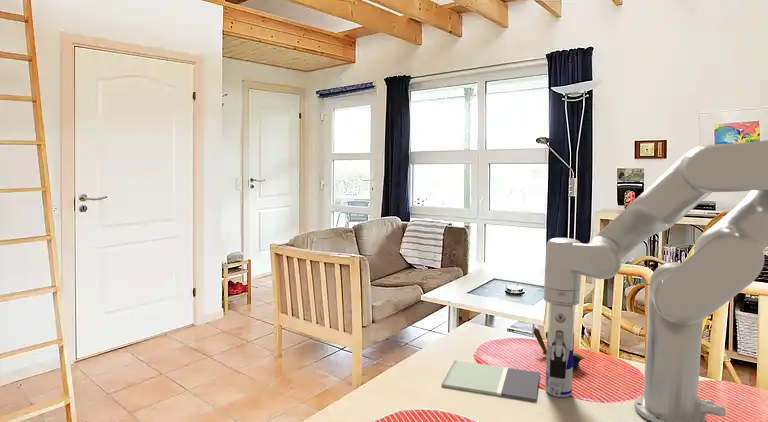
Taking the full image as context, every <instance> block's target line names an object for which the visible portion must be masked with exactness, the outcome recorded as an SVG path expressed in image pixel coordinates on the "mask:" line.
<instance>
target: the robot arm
mask: <svg viewBox="0 0 768 422" xmlns="http://www.w3.org/2000/svg"><path fill="white" fill-rule="evenodd" d="M729 192H730V193H732V192H733V193H734V192H737V193H738V192H748V193H747V195H746V196H745V197H743V199H742V200H741V201H740V202H739V203H738V204H737V205H735V207H733V208H732V210H730V211H729V212H728V213H726V215H724V216H723V217H722V218H721V219H719V220H718V221H717V222H716V223H715V224H713V225H712V226H711V227H709V228H708V229H706V230H705V231H703V232H702V233H701V234H700V236H698V238H697V239H696V241H695V243H694V246H693V254H692V255H690V256H689V257H688V258H687V259H686V260H685V261H683V262H678V261H671V262H666V263H663V264H662V265H659V266H658V267H657V268H655V269H654V271H653V272H652V274H651V275H650V279H649V281H648V282H649V283H648V295H647V296H648V300H647V301H648V310H647V311H648V312H647V313H648V314H647V331H646V345H645V362H644V363H645V365H644V377H643V378H644V379H643V380H644V381H643V382H644V383H643V395H639V396H638V397H636V398H635V400H634V409H635V410H636V412H637V413H638V414H639V415H640V416H641V417H643V418H644V419H645V420H647V421H648V422H706V416H707V415H713V416H717V417H726V408H725V406H722V405H716V404H715V402H714V400H709V399H701V398H700V397H699V379H700V367H701V366H700V365H701V352H702V351H701V350H702V340H703V339H702V338H703V323H704V322H703V320H704V319H706V318H708V317H709V316H710V315H712V314H713V313H715V312H716V311H718V310H719V309H720V308H721V307H723V306H724V305H725V304H726V303H728V302H729V301H731V300H732V299H733V298H735V297H736V296H737V295H739V293H741V292H743V291H744V290H745V289H746V288H747V287H749V286H750V285H751V284H752V283H754V282H755V280H756V279H757V278H758V277H759V275H760V274H761V273H762V271H763V268H764V265H765V254H764V249H766V248H768V140H766V139H765V140H758V141H756V140H755V141H748V142H737V143H736V142H735V143H721V144H720V143H719V144H718V143H717V144H705V145H704V144H703V145H699V146H695V147H693V148H692V149H690V150H688V151H687V152H686V153H685V154H683V156H681V157H680V158H679V159H678V160H677V161H676V162H675V163H673V164H672V165H671V166H670V167H669V168H668V169H666V171H665V172H664V173H662V174H661V175H660V176H659V177H658V178H657V179H655V180H654V182H653V183H651V185H649V187H647V188H646V189H644V191H643V192H642V193H640V195H638V196H637V197H636V198H635V199H634V200H632V201H631V203H630V204H629V205H628V206H627V207H626V208H625V209H624V210H623V211H622V212H621V213H619V214H618V215H617V216H616V217H615V218H614V219H613V220H612V221H610V222H609V223H608V224H607V225H606V226H605V227H604V228H602V230H600V232H598V233H597V234H596V235H594V237H593V238H592V239H591V240H590V241H588V243H582V242H581V241H580V240H577V239H575V238H569V237H554V238H550V239H548V241H547V242H546V248H545V262H544V263H545V265H544V282H543V284H544V287H543V301H545V302H547V303H548V323H547V324H548V327H547V332H548V331H549V346H550V347H551V348H552V358H550V377H554V378H561V379H565V374H566V360H565V352H566V349H569V351H571V350H572V349H573V333H574V334H575V329H574V328H575V306H577V305H579V304H580V303H581V302H580V300H581V286H582V285H581V284H582V276H585V277H589V278H593V279H598V280H608V279H611V278H613V277H614V276H615V277H616V275H617V274H618V273H619V271H620V270H621V267H622V260H623V259H624V258H625V257H626V256H627V255H629V254H630V253H631V252H632V251H633V250H634V249H636V248H637V247H638V246H639V245H641V244H642V243H643V242H645V241H646V240H647V239H649V238H651V237H653V236H654V235H655V234H656V235H657V234H659V233H662V232H665V231H667V230H669V229H670V228H672V227H673V226H675V224H677V223H678V222H679V221H681V220H682V219H683V218H684V217H685V216H687V214H689V212H691V211H692V210H693V209H694V208H695V207H697V206H698V205H699V204H700V203H701V202H702V201H704V200H705V199H707V197H708V196H709V195H711V194H712V193H729ZM556 331H557V337H556ZM554 341H555V343H554ZM554 344H556V345H554ZM562 345H564V346H562ZM555 349H556V351H555ZM562 350H563V352H562Z"/></svg>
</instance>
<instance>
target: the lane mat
mask: <svg viewBox="0 0 768 422" xmlns="http://www.w3.org/2000/svg"><path fill="white" fill-rule="evenodd" d="M540 375H541V373H540V372H539V371H532V370H524V369H518V368H512V367H506V366H505V367H504V366H497V365H489V364H485V363H477V362H476V363H475V362H471V361H470V362H468V361H463V360H456V359H454V361H453V363H452V365H451V367H450V368H449V370H448V372H447V374H446V376H445V377H444V379H443V381H442V383H441V387H442V388H443V387H445V388H450V389H456V390H463V391H469V392H475V393H481V394H486V395H493V396H500V397H505V398H513V399H516V400H517V399H518V400H523V401H530V402H537V399H538V398H537V396H538V389H539V381H540V380H539V379H540Z"/></svg>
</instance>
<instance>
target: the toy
mask: <svg viewBox="0 0 768 422" xmlns="http://www.w3.org/2000/svg"><path fill="white" fill-rule="evenodd" d="M547 332H548V331H546V332H545V339H546V340H547ZM533 335H534V337H535V339H536V340H537V342H538V344H539V345H540V348H541V350H542V354H543V355H545V357H547V346H546V345H545V343H544V339H543V337H542V334H541V332H540V330H539V329H538V328H537V327H534V328H533ZM584 359H585V357H584V356H582V355H581V354H580V353H578V352H576V351H575V350H573V371H575V370H577V369H578V368H579V365H580V362H581V361H583V360H584Z"/></svg>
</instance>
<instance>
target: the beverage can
mask: <svg viewBox="0 0 768 422" xmlns="http://www.w3.org/2000/svg"><path fill="white" fill-rule="evenodd" d="M546 332H547V339H546V340H547V341H546V350H547V356H546V360H545V362H546V365H545V391H546V392H547V393H548V394H550V395H551V396H553V397H556V398H566V397H570V396H571V395H572V393H573V371H574V370H573V351H575V350H574V348H575V347H574V345H575V344H574V343H575V332H574V333H573V349H572V350H571V351H569V349H566V352H565V360H566V374H565V379H561V378H554V377H550V358H552V348H551V347H550V346H549V331H548V330H547V331H546ZM556 337H557V331H556ZM554 343H555V341H554ZM554 345H556V344H554ZM562 346H564V345H562ZM555 351H556V349H555ZM562 352H563V350H562Z"/></svg>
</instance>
